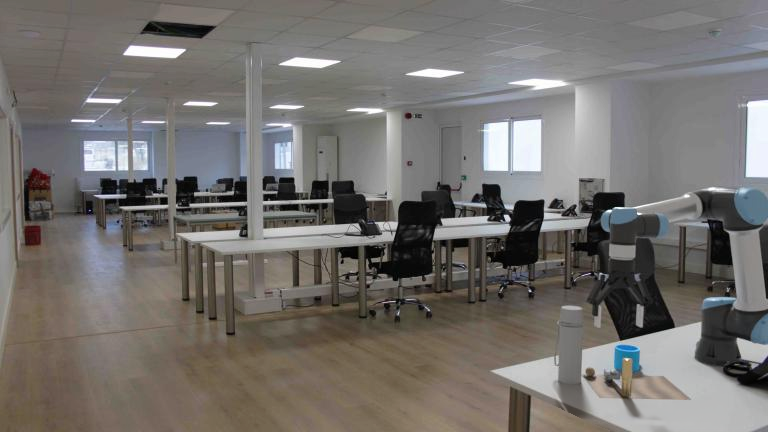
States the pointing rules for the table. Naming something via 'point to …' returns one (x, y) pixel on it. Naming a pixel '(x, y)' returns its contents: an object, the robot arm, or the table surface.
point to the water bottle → (570, 344)
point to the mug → (626, 356)
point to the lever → (626, 382)
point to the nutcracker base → (635, 387)
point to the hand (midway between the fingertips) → (618, 326)
